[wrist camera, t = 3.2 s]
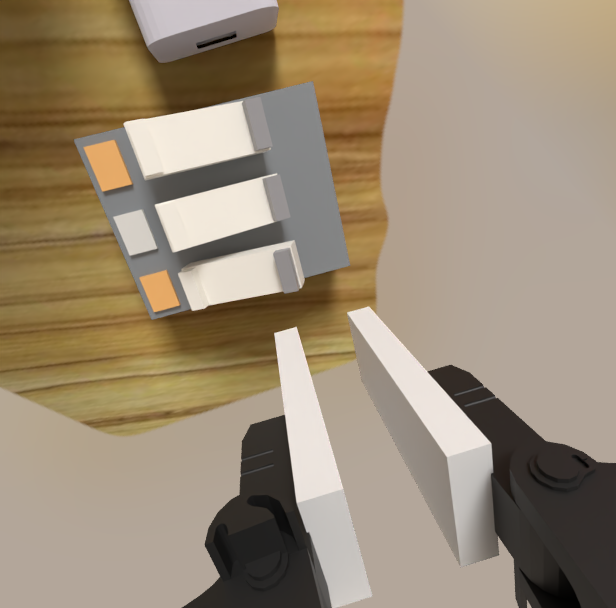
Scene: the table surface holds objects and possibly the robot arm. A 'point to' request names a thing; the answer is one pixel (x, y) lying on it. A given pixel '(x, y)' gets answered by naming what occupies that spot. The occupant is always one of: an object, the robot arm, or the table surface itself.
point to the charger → (199, 23)
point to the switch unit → (280, 159)
